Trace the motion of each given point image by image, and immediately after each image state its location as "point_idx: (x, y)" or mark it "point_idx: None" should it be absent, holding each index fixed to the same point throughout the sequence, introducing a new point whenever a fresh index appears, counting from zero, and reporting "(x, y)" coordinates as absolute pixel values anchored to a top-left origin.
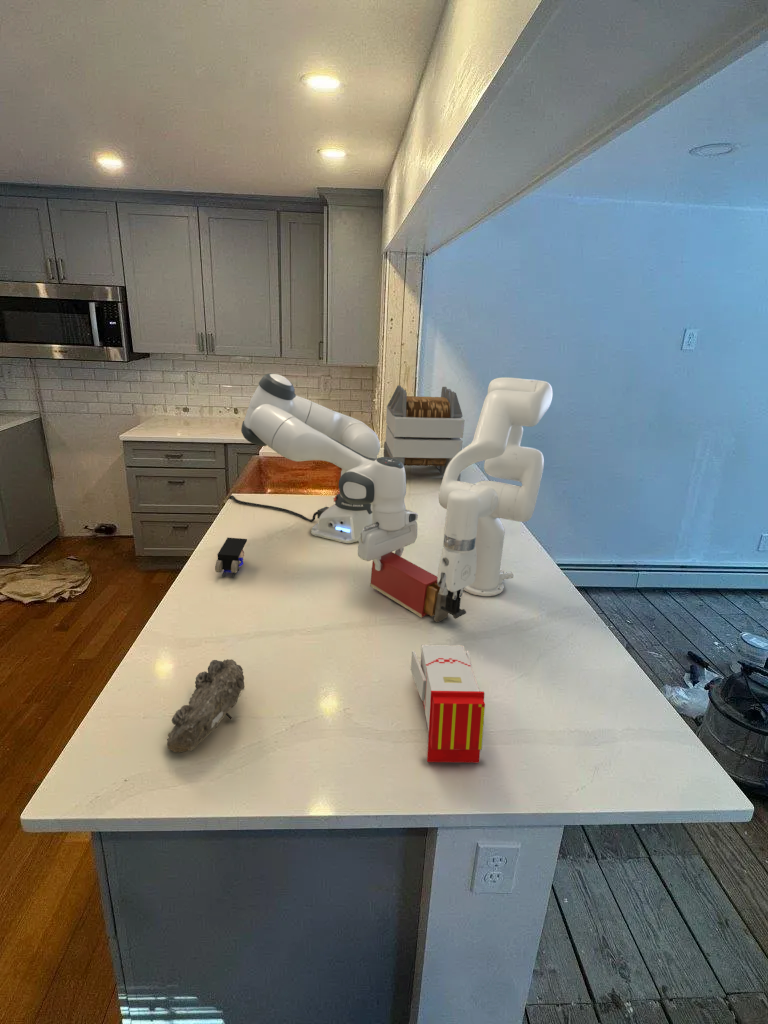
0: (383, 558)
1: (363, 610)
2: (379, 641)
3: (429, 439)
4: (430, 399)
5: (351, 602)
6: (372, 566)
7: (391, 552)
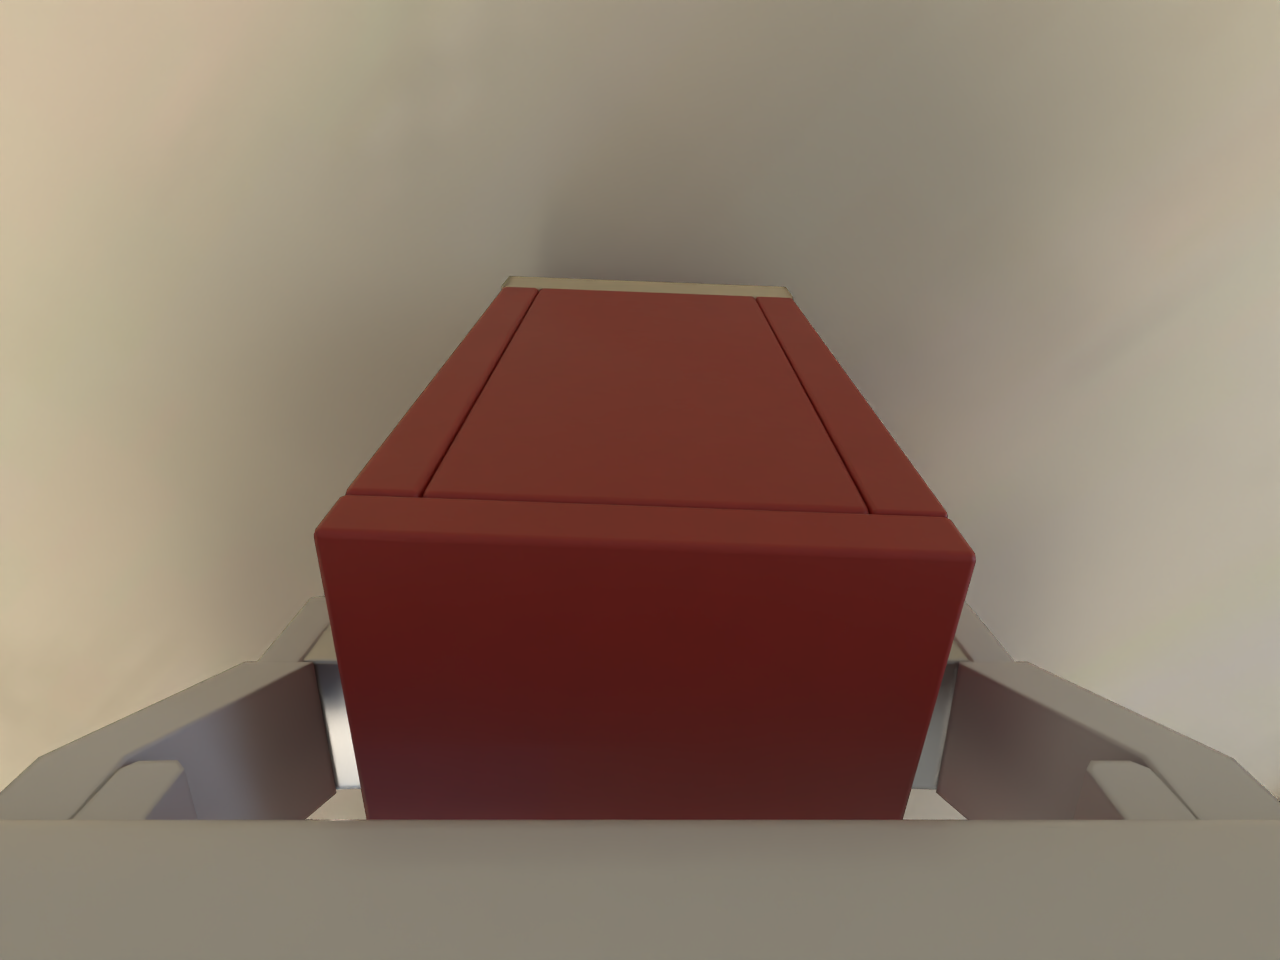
0: (446, 806)
1: (169, 541)
2: None
3: None
4: None
5: (141, 333)
6: (429, 394)
7: (891, 735)
